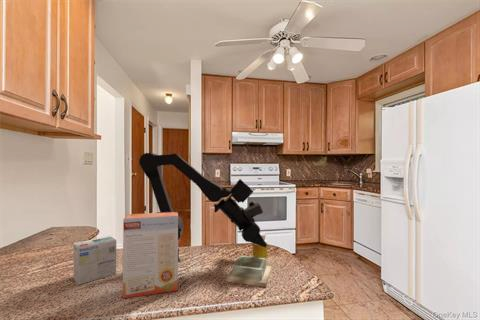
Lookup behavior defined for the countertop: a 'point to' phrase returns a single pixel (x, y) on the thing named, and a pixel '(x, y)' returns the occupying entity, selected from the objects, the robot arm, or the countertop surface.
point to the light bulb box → (94, 259)
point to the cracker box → (150, 253)
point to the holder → (250, 271)
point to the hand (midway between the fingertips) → (263, 241)
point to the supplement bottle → (260, 248)
